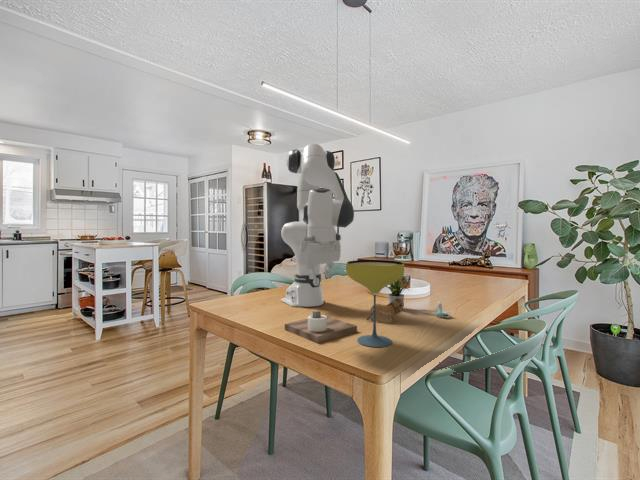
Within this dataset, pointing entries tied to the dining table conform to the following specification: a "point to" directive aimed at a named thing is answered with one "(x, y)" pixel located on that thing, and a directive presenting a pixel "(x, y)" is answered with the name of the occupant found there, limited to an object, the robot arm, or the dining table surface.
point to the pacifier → (441, 311)
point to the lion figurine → (388, 309)
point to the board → (333, 330)
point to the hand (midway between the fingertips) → (320, 277)
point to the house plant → (397, 290)
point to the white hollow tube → (317, 323)
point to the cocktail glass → (375, 288)
